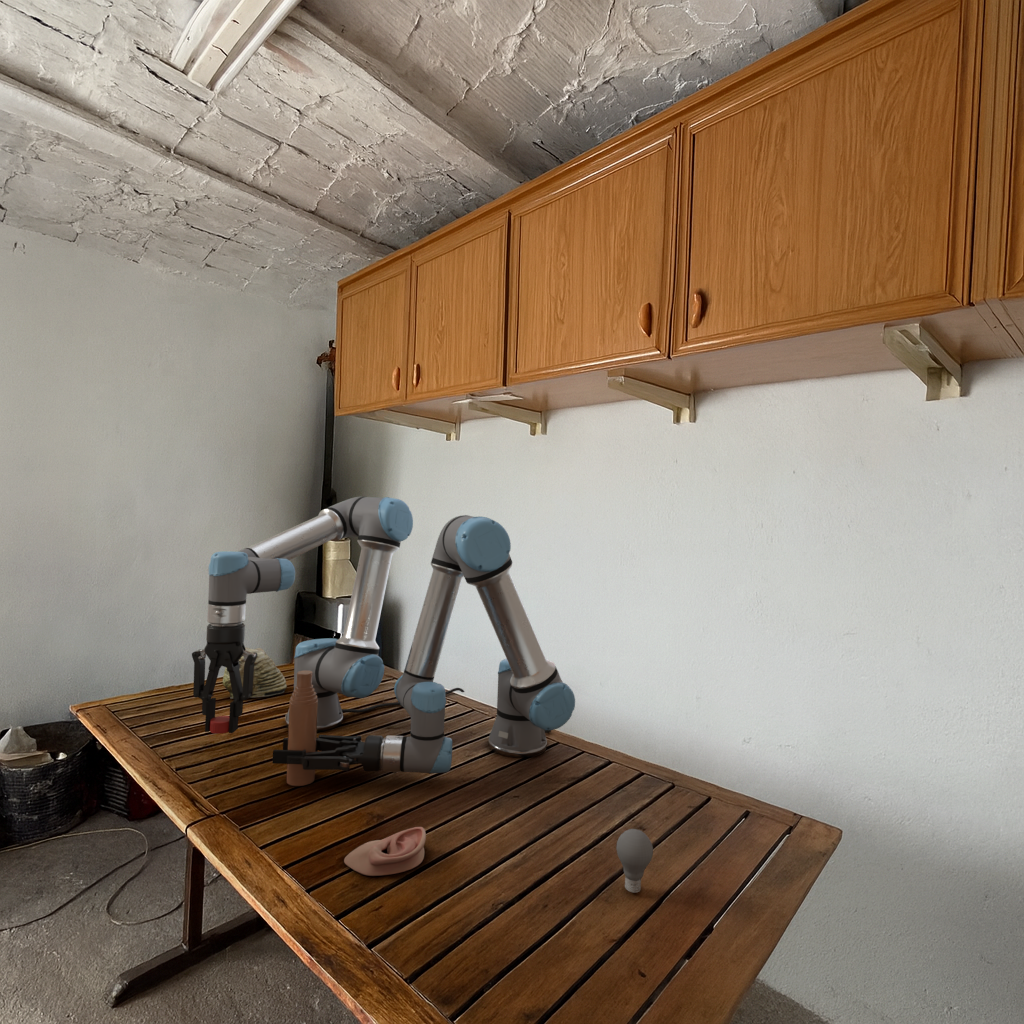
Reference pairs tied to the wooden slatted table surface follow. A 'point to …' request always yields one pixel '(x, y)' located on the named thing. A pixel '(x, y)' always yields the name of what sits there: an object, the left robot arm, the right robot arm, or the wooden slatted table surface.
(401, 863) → the anatomical model
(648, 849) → the light bulb
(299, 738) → the bottle
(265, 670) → the fossil
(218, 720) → the cap
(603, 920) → the wooden slatted table surface
